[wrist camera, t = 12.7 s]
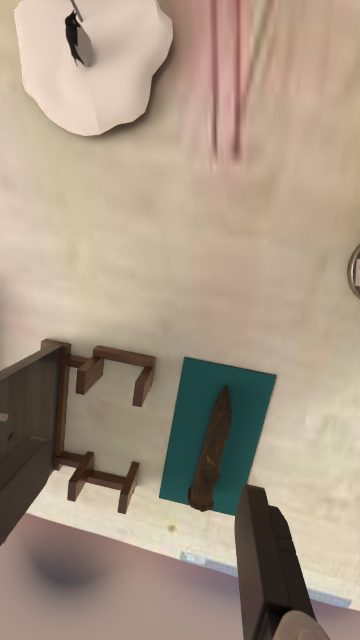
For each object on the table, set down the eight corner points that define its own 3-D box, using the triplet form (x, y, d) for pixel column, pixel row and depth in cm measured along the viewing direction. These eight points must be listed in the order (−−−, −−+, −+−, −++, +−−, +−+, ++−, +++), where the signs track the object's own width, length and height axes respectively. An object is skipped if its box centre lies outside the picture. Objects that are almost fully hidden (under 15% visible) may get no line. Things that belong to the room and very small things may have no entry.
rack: (155, 357, 38) (99, 459, 18) (136, 485, 43) (76, 669, 24) (45, 335, 39) (-117, 409, 19) (40, 463, 44) (-92, 620, 25)
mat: (275, 375, 36) (276, 376, 36) (237, 514, 42) (237, 516, 42) (184, 356, 37) (184, 357, 37) (159, 495, 43) (158, 498, 43)
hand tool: (212, 492, 41) (213, 521, 37) (187, 486, 42) (185, 513, 37) (245, 387, 37) (250, 405, 32) (217, 381, 37) (219, 397, 33)
